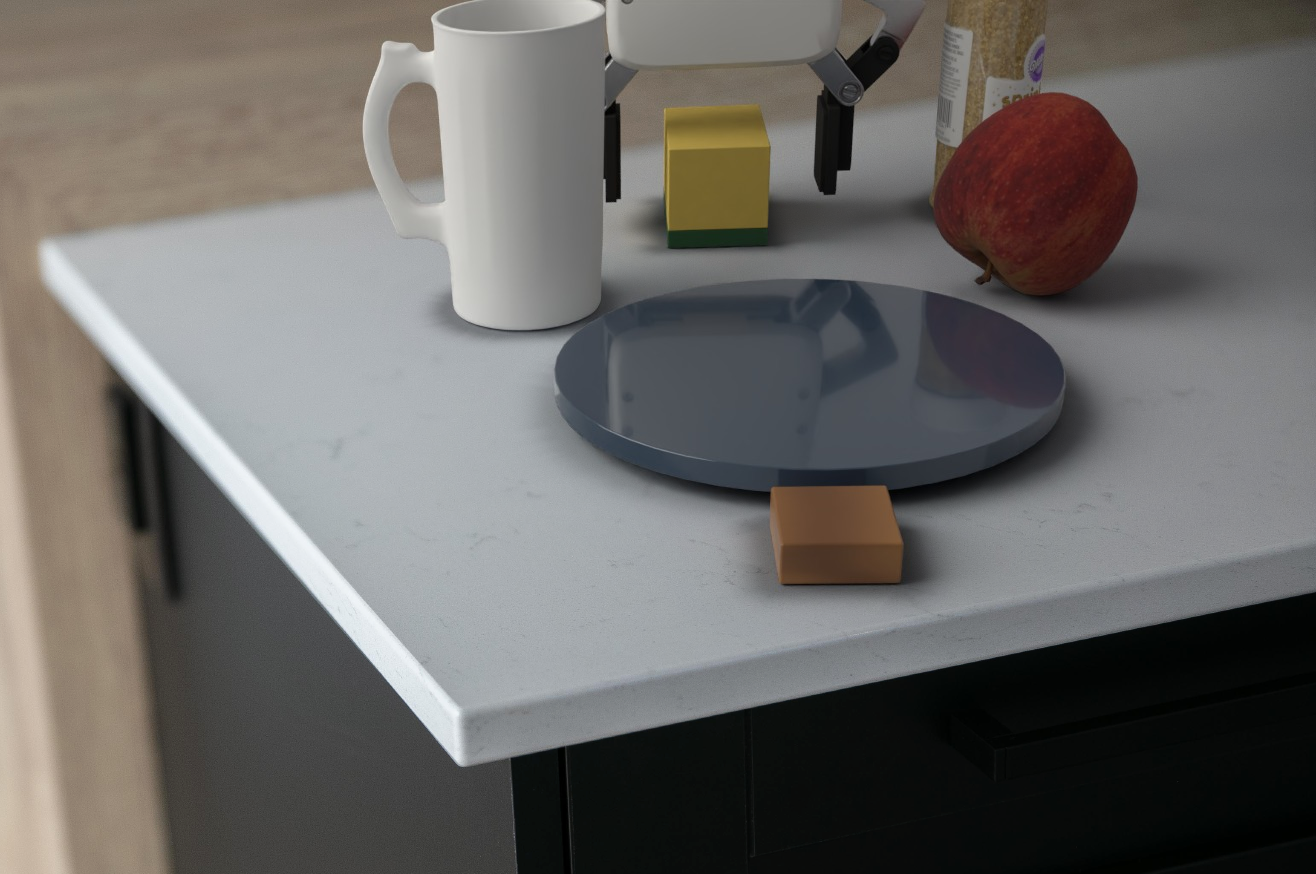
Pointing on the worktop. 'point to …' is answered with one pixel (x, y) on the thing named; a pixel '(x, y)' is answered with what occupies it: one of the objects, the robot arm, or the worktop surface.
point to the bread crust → (835, 535)
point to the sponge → (716, 176)
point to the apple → (1038, 194)
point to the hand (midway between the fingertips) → (718, 190)
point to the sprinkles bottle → (985, 66)
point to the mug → (507, 156)
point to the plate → (809, 385)
